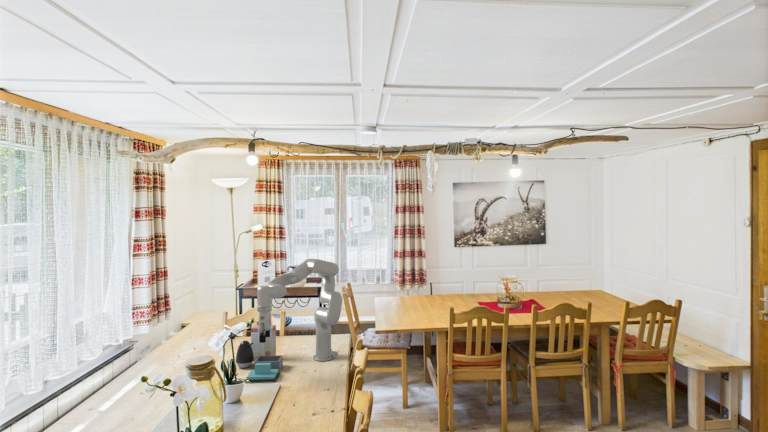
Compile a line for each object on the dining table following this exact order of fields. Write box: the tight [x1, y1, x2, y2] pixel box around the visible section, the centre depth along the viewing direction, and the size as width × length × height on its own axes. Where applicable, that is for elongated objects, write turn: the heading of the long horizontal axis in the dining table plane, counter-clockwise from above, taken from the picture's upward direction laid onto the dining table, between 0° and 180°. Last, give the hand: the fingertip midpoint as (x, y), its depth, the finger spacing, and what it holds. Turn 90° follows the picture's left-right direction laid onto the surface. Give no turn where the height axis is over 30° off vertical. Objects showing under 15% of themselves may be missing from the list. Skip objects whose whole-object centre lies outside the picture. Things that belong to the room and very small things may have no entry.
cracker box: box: [250, 324, 277, 362], centre depth 235 cm, size 14×6×21 cm, turn 84°
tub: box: [253, 354, 284, 373], centre depth 220 cm, size 10×14×6 cm
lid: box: [245, 363, 280, 381], centre depth 207 cm, size 11×15×7 cm
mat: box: [245, 371, 281, 384], centre depth 207 cm, size 12×16×1 cm
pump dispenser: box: [235, 339, 254, 369], centre depth 224 cm, size 10×10×15 cm
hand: (264, 339), depth 208 cm, fingers open, 9 cm apart
